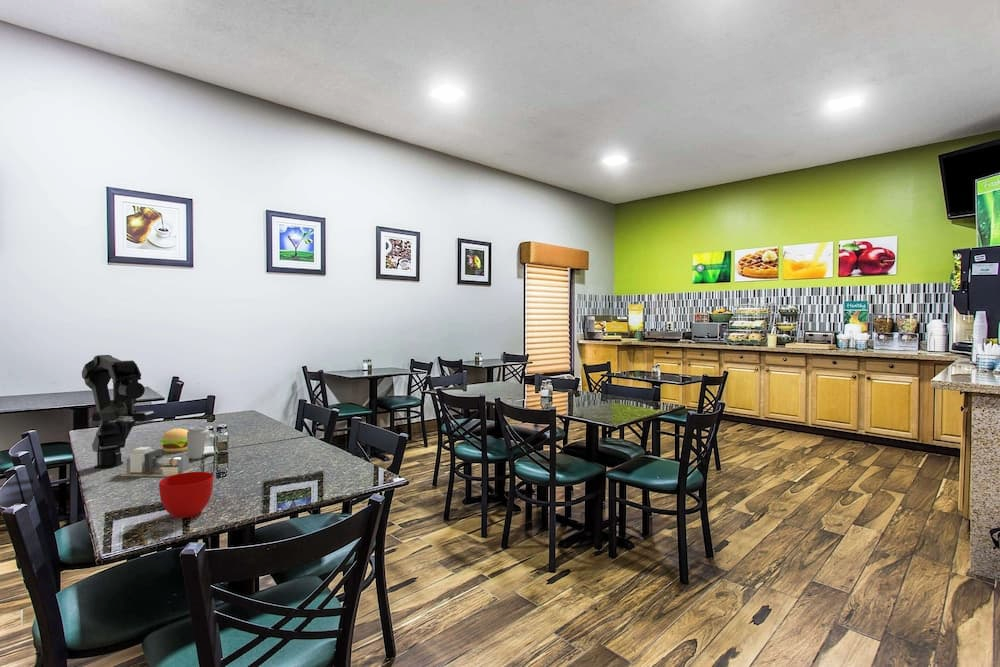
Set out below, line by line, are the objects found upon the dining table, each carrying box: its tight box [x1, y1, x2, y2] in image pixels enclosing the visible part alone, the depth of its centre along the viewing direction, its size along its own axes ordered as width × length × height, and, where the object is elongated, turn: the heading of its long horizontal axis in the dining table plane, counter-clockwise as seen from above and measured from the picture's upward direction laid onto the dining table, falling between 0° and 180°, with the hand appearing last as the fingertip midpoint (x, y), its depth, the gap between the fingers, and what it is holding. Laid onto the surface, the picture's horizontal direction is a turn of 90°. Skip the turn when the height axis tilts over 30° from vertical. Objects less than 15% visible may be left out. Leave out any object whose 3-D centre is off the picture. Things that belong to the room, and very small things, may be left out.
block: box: [145, 448, 164, 473], centre depth 180 cm, size 2×7×6 cm, turn 0°
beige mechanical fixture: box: [119, 456, 195, 478], centre depth 180 cm, size 20×9×5 cm, turn 90°
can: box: [186, 425, 210, 460], centre depth 200 cm, size 8×8×12 cm
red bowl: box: [158, 471, 214, 519], centre depth 144 cm, size 13×17×10 cm
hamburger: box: [159, 428, 189, 453], centre depth 212 cm, size 12×12×9 cm
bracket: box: [129, 446, 155, 472], centre depth 180 cm, size 4×6×8 cm, turn 0°
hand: (123, 440), depth 180 cm, fingers closed
